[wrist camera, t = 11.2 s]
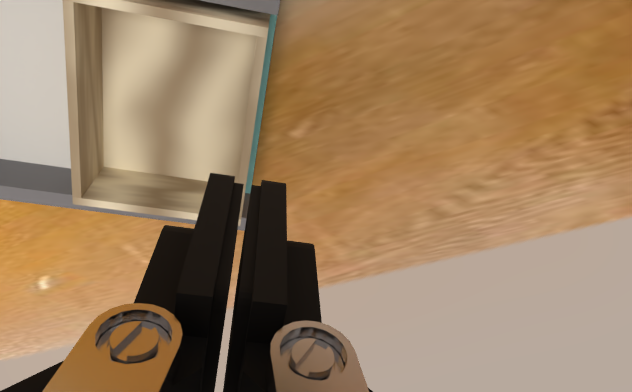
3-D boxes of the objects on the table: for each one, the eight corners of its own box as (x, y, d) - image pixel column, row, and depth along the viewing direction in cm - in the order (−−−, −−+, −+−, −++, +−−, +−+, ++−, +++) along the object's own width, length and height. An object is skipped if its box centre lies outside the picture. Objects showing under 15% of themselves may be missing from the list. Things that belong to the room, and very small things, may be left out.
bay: (281, -14, 36) (280, -5, 31) (249, 199, 44) (245, 230, 40) (-68, -85, 32) (-123, -85, 28) (-29, 161, 41) (-66, 190, 36)
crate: (270, 12, 35) (268, 28, 30) (245, 189, 42) (240, 226, 37) (94, -22, 33) (61, -11, 28) (98, 168, 40) (72, 204, 35)
